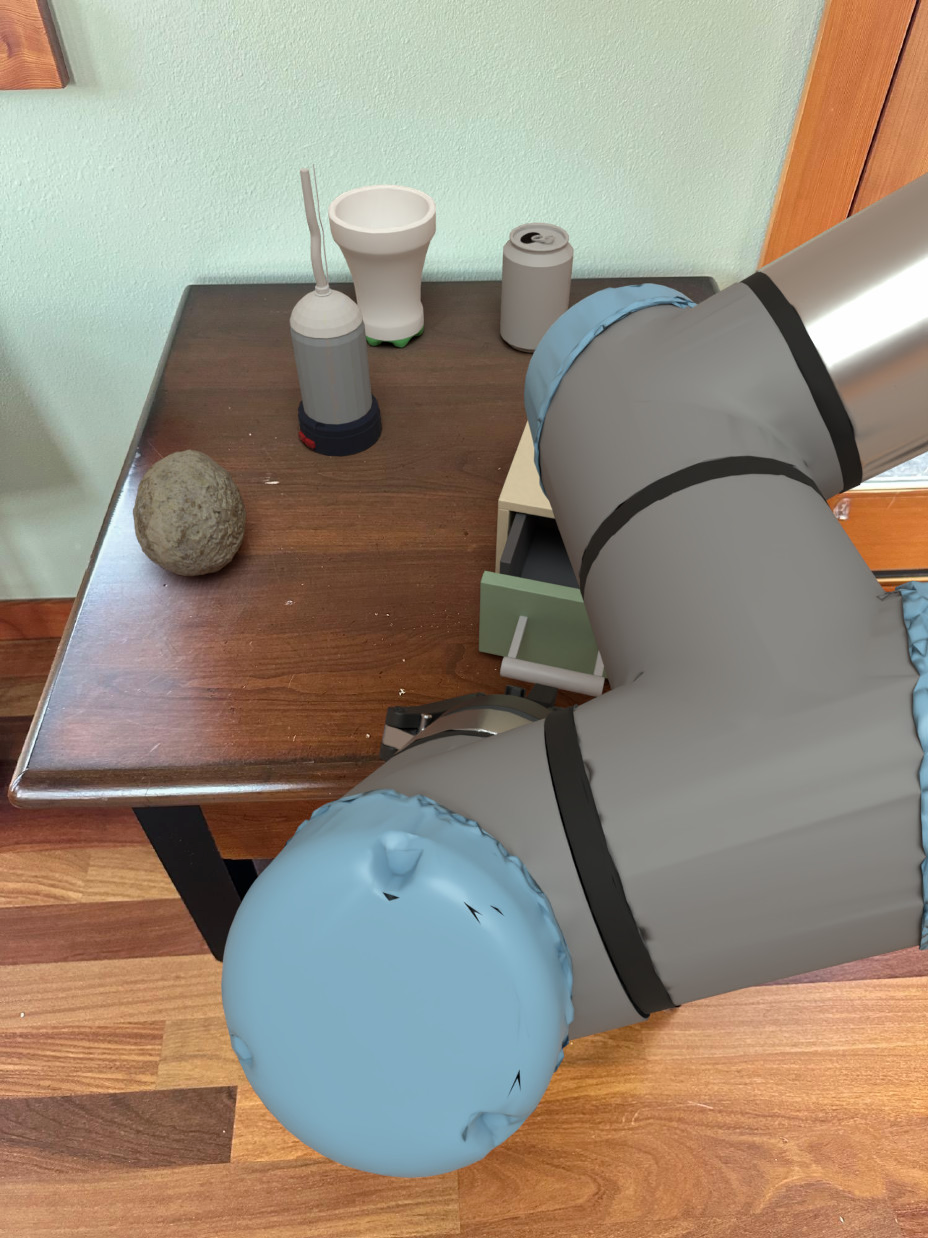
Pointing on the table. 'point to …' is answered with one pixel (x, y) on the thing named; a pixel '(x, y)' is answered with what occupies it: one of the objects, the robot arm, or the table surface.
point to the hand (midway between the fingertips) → (543, 705)
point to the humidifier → (331, 359)
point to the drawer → (539, 612)
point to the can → (534, 283)
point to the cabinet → (520, 493)
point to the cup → (385, 255)
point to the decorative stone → (189, 514)
